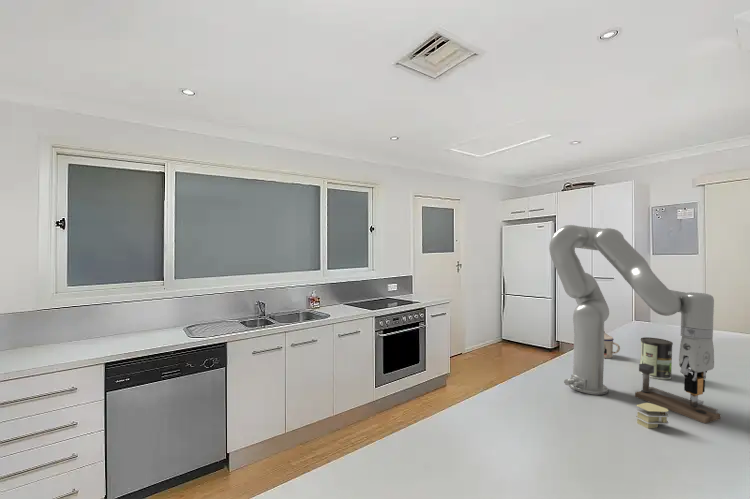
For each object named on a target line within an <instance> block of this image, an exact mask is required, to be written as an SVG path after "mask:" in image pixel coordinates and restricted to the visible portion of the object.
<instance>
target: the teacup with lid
mask: <svg viewBox="0 0 750 499" xmlns="http://www.w3.org/2000/svg"><path fill="white" fill-rule="evenodd" d="M614 345H615V346H616V347H617V350H616V351H614V349H613V348H614ZM620 350H621V346H620V345H619V344H618V343H617V342H614V337H613V336H611V335H608V334H607V333H606V332H605V330H604V359H612V358H613V354H618V353H619V352H620Z"/></svg>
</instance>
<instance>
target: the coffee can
mask: <svg viewBox="0 0 750 499" xmlns="http://www.w3.org/2000/svg"><path fill="white" fill-rule="evenodd" d="M673 345H674V344H673V342H672V341H671V340H667V339H664V338H658V337H646V336H644V337H641V338H640V359H639V360H640V361H639V362H640V363H639V364H644V363H645V364H649V365H652V366H654V373H651V374H649V378H651V379H655V380H656V379H657V380H672V369H673V368H672V364H673V361H672V359H673ZM639 373H640V374H641V375H642V374H643V372H640V371H639Z"/></svg>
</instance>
